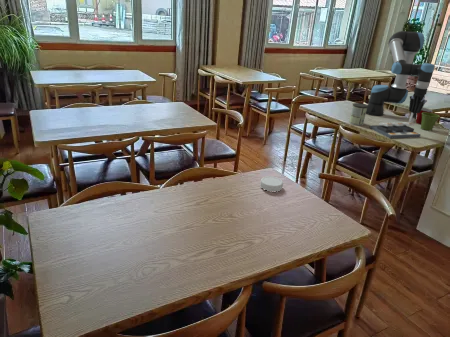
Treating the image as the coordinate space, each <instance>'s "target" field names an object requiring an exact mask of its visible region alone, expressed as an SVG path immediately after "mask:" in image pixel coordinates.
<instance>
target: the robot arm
mask: <svg viewBox="0 0 450 337" xmlns="http://www.w3.org/2000/svg"><path fill="white" fill-rule="evenodd" d="M387 44H388V47H389V49H390V51H391V55H392V60H393V63H392V66H391V72H390V73H391V74H394V75H395V78H394V82H393V83H392V84H391V85H390V87H389V85H387V84H376V85H373V86H372V88H371V91H370V95H369V99H368V103H367V104H366V105H367V106H368V107H367V110H366V115H369V116H374V117H384V114H385V110H384V105H385V103H388V104H389V103H391V104H399V105H400V104H403V103H404V102H405V101H406V100H407V98H408V94H409V90H408V88H407V81H408V78H409V76H414V77H417V81H416V83H415V87H414V90H413V95H410V96H409V106H408V111H410V115H409V119H408V123H415V120H416V117H417V113H420V111H421V110H422V108H424V106H425V104H426V103H427V102H428V101H427V99H426V98H425V96H426V95H427V92H428V88H429V86H430V83H431V79H432V76H433V73H434V71H435V64H433V63H427V62H423V63H422V64H420V63H418V64H416V63H413V61H414V58H415V56H416V54H418V52H419V51H420V50H422V49H423V47H424V44H425V35H424V34H423V33H422V32H417V31H404V30H399V31H397V32H395V33H393V34H392V35H391V36H390V37H389V40H388V43H387Z"/></svg>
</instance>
